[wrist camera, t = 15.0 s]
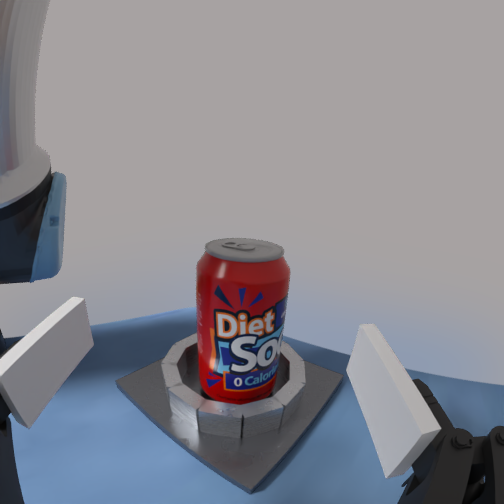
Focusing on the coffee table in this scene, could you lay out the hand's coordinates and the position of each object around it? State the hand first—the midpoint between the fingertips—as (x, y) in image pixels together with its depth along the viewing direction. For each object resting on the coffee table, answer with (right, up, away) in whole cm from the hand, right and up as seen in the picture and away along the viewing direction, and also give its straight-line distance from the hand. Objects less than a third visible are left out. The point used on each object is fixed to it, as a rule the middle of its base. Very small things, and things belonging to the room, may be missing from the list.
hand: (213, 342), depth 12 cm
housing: (0, -11, +15) cm, 19 cm away
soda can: (0, -10, +15) cm, 18 cm away
